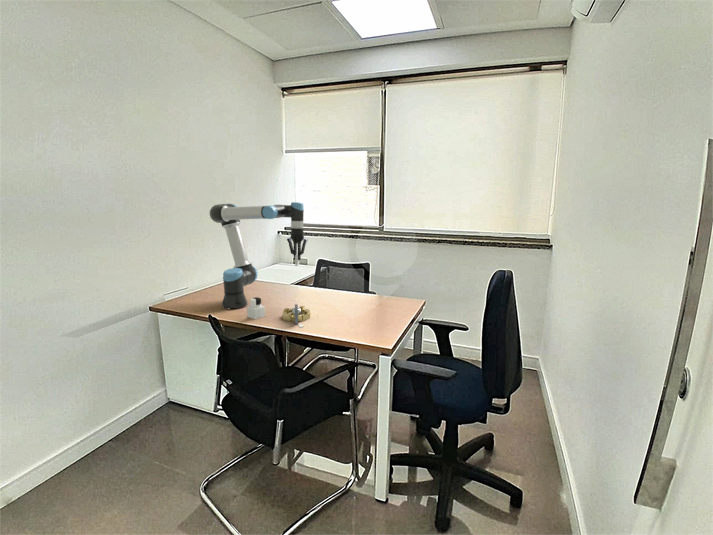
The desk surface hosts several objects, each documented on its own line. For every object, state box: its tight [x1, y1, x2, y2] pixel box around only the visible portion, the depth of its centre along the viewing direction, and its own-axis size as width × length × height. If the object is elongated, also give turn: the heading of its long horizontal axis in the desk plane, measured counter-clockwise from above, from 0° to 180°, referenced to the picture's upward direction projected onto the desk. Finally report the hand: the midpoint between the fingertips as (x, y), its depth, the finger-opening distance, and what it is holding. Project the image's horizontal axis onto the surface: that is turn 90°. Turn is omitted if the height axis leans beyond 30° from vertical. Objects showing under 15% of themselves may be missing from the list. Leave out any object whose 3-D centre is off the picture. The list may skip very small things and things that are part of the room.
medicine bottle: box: [246, 296, 266, 320], centre depth 213 cm, size 7×7×12 cm
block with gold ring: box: [282, 303, 311, 326], centre depth 209 cm, size 20×15×9 cm
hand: (297, 265), depth 234 cm, fingers closed
